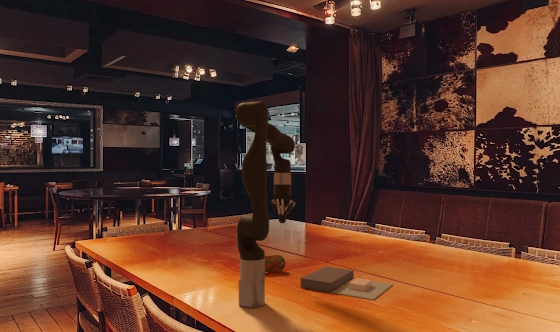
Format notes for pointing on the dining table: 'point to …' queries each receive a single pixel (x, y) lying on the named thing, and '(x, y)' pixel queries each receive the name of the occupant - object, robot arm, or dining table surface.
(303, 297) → the dining table surface
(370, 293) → the mat
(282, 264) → the tin
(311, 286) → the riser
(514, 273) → the dining table surface
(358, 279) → the tile
